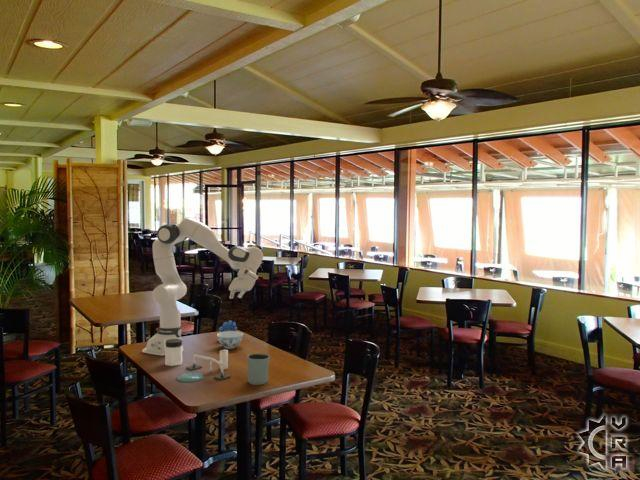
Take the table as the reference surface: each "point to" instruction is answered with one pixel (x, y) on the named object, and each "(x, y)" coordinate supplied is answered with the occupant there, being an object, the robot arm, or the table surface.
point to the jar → (173, 352)
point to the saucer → (190, 377)
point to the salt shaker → (224, 358)
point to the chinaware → (230, 338)
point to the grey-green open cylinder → (258, 368)
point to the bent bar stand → (218, 377)
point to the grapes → (228, 326)
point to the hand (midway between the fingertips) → (234, 298)
